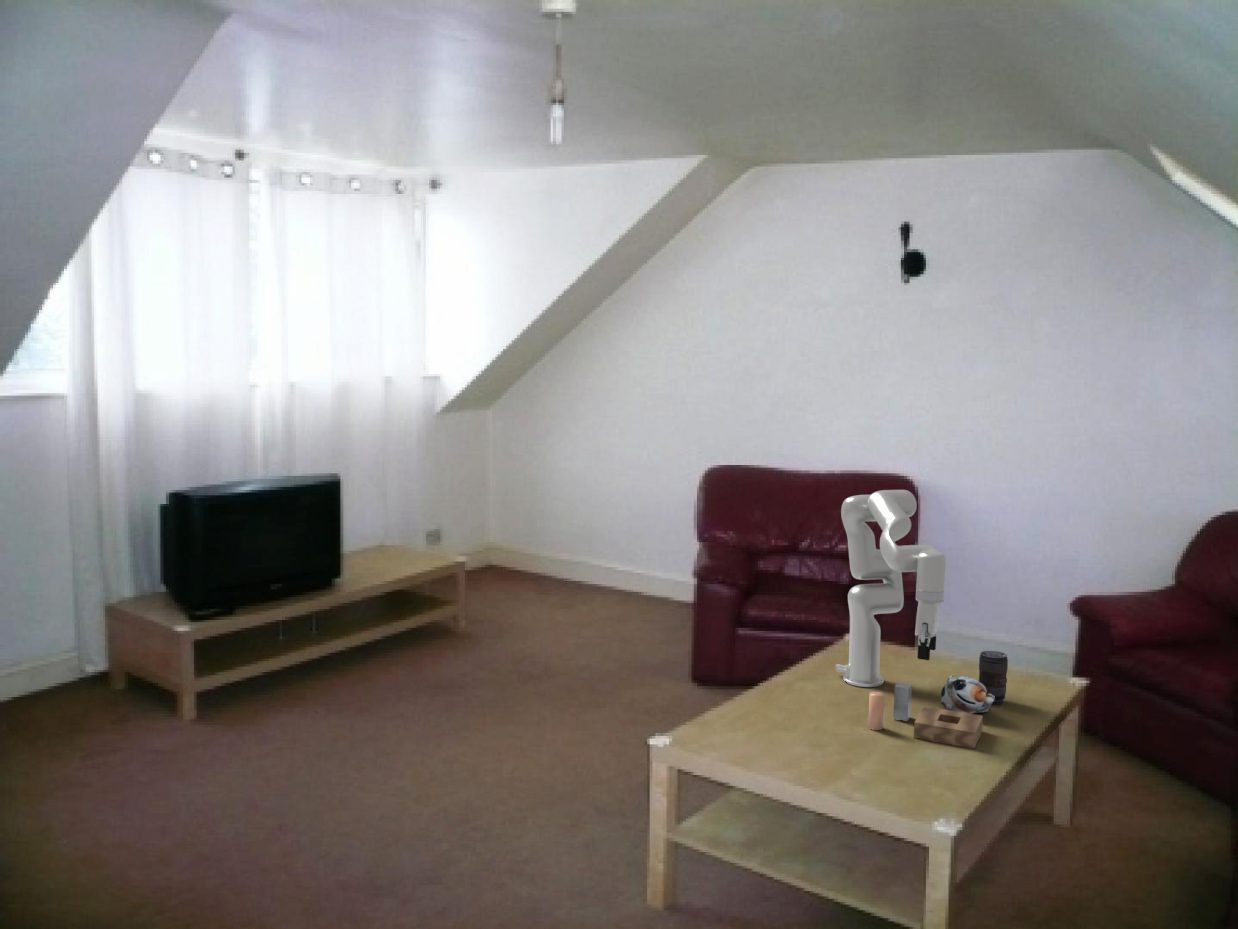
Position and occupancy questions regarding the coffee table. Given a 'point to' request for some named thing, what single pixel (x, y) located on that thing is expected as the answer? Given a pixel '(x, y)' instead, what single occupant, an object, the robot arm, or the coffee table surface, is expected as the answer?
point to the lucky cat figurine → (965, 695)
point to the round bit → (876, 710)
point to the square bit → (902, 701)
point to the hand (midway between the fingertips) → (926, 654)
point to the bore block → (948, 727)
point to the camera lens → (994, 674)
